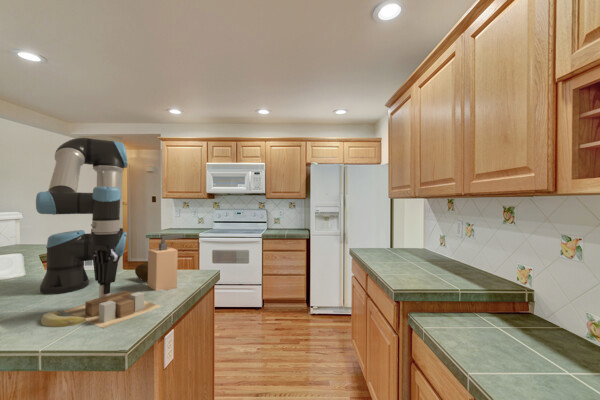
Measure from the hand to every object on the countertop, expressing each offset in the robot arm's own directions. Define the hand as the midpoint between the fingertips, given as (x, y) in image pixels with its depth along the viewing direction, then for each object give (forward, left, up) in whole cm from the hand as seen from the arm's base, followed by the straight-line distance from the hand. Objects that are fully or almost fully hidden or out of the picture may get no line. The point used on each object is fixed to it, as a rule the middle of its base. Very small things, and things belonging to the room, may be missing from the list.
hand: (104, 302), depth 89 cm
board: (+3, +1, -3) cm, 4 cm away
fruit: (-1, -10, -3) cm, 11 cm away
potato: (-20, +28, -3) cm, 35 cm away
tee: (+7, 0, -2) cm, 7 cm away
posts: (+10, 0, -2) cm, 10 cm away
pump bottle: (-4, +26, -3) cm, 27 cm away
